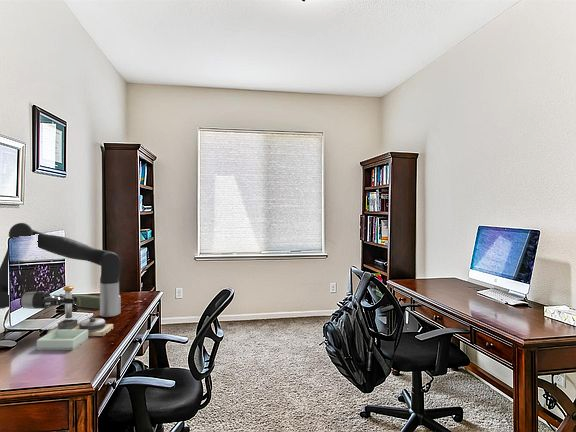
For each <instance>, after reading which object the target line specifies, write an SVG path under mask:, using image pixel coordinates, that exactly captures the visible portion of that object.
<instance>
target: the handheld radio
mask: <svg viewBox="0 0 576 432" xmlns="http://www.w3.org/2000/svg"><path fill="white" fill-rule="evenodd" d="M72 297H77V301H76V302H74V304H76V306H75V307H81V308H89V309H98V310H100V296H95V295H87V294H86V295H85V294H77V293H75V294H72Z"/></svg>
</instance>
